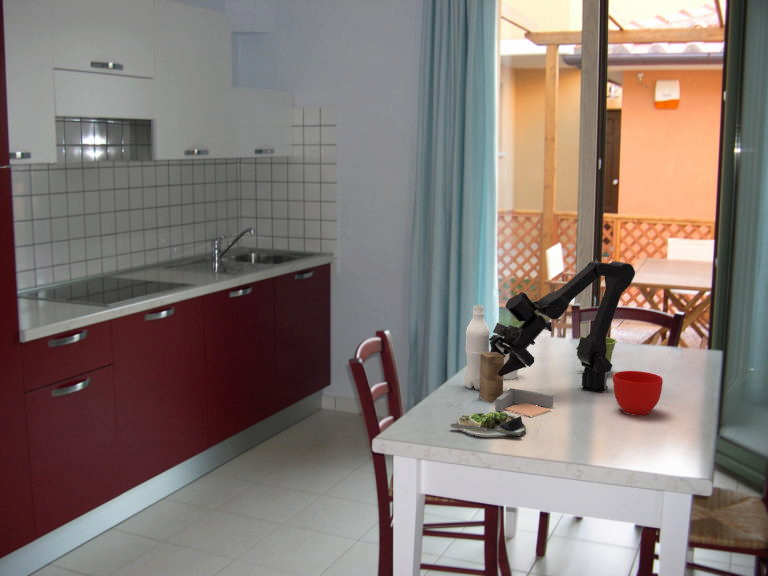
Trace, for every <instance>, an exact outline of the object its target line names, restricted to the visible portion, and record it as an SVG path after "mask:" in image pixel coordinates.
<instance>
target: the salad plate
mask: <svg viewBox="0 0 768 576" xmlns="http://www.w3.org/2000/svg"><path fill="white" fill-rule="evenodd" d="M449 427H451V428H453V429H455V430H459V431H461V432H463V433H465V432H466V433H465V434H468V435H471V436H474V435H475V436H474V437H478V436H479V437H478V438H484V437H509V438H515V437H514V436H518V437H520V436H519V435H521V436H522V434H523V433H524V432H525V433H526V431H527V427H526V425H525V423H523V418H522V415H519V416H516V415H515V414H512V413H506V412H503V411H502V412H498V411H494V412H493V411H490V412H488V413H482V412H479V413H477V412H474V413H466V414H462V415H460V416H459V417H458V418H457V423H450V425H449ZM525 433H524V434H525ZM524 434H523V435H524Z"/></svg>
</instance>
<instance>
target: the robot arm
mask: <svg viewBox="0 0 768 576" xmlns="http://www.w3.org/2000/svg"><path fill="white" fill-rule="evenodd" d="M635 275H636V270H635V268H634V266H633V264H630V263H627V262H621V261H617V260H614V261H612V262H609V263H608V262H600V261H595V260H594V261H590V262H588V263H587V265H586V266H585V267H583V268H582V269H581V271H579V272H578V273H577V274H575V276H573V277H572V278H571V279H569V281H567V282H566V283H565V284H564V285H563V286H561V287H560V288H559V289H557V290H555V291H551V292H549V293H547V294H546V295H544V296H542V297H541V298H539V300H535V301H532V300H531V299H530V298H529V297H528V295H527V294H526V293H525V292H522V291H521V292H519V294H516V295H514V296H512V297H511V298H509V299H507V301H506V304H505V309H506V310H507V311H508V312H509V313H510V314H511V315H512V316H513V318H514V319H515V320H516V321H518V322H520V323H521V322H522V323H521V324H520V325H519V326H514V325H512V324H508V325H507V326H506V325H503V324H502V323H500V322H496V325H495V326H494V328H493V331H492V333H493V335H492V336H491V337H489V346H490V350H489V352H497V353H499V354H501V355H503V356H504V358H505V357H506V356H505V355H506V354H509V359H508V360H507V362H506V363H505V364H504V366H503V367H502V368H501V370H500V371H499V373H498V375H499V376H500V377H501V376H503V375H506V374H508V373H511V372H513V371H516V370H521V369H524V368H525V369H526V368H527V367H529V368H530V367H532V365H534V363H535V357H534V356H533V355H532V353H530V351H529V350H528V348H529V346H530V345H531V346H534V345H535V344H536V342H535V340H536V339H537V338H538V336H539V335H540V334H541V333H542V332H543V331H544V330H545V331H548V332H550V333H551V332H553V327H552V325H553V322H551V321H550V320H546V318H549V319H551V320H558V319H559V318H561V317H562V315H563V314H564V313H565V312H566V311H567V310H568V308H569V305H570V303H571V302H572V301H573V300H574V299H575V298H576V297H577V296H579V295H580V294H581V293H582V292H583V291H584V290H585V289H587V288H588V287H589V286H590V285H591V284H593V283H594V282H595V281H596V280H597V279H598V278H600V277H604V287H605V289H604V293H603V295H602V298H601V301H600V303H599V307H598V309H597V313H596V315H595V318H594V320H593V323H592V326H591V329H590V332H589V333H588V334H587V336H581V337H579V338H580V341H578V345H577V347H575V349H576V356H577V358H578V360H579V361H580V365H581V367H586V368H584V371H583V372H582V374H581V375H582V376H581V386H582V387H581V390H585V391H591V392H597V393H604V392H605V391H606V390H607V389H608V388H609V386H608V375H607V372H608V373H610V372H611V371H612V369H613V364H612V363H611V362H609V361H608V360H607V358H606V352H607V346H606V337H607V336H608V334H609V331H610V328H611V325H612V322H613V321H614V316H615V314H616V311H617V308H618V306H619V303H620V300H621V297H622V294H623V293H624V292H625V291H626V290H627V289H628V288H629V287H630V286H631V284H632V283H633V280H634V279H635ZM537 313H539V314H537ZM545 317H546V318H545ZM584 337H586V338H584ZM504 354H505V355H504Z"/></svg>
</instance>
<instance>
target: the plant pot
mask: <svg viewBox="0 0 768 576" xmlns="http://www.w3.org/2000/svg"><path fill="white" fill-rule="evenodd" d="M583 337H584V338H586V337H587V336H583ZM580 338H581V337H579V338H578V342H580ZM616 343H618V340H617V339H615V338H612V337H606V346H607V352H606V358H607V360H608V361H609V362H610V363H611V362H612V356H613V352H614V349H615V345H616ZM583 367H584V366H583ZM585 368H586V367H584V369H585ZM608 374H609V372H607V376H608Z"/></svg>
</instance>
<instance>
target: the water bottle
mask: <svg viewBox="0 0 768 576" xmlns="http://www.w3.org/2000/svg"><path fill="white" fill-rule="evenodd" d="M484 307H485V306H484V305H481V304H475V305H473V310H472V318H471V320H470V322H469V324H468V325H467V327H466V330H465V350H464V351H465V353H466V362H467V363H466V370H465V374H464V384H465V386H466V387H467V388H468V389H473V387H474V389H475V390H478V391H479V389H480V359H481V353H489V352H490V340H489V339H490V334H491V332H490V328H489V327H488V326H489V325H488V324H487V322H486V320H485V317H484V315H485V310H484Z"/></svg>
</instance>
